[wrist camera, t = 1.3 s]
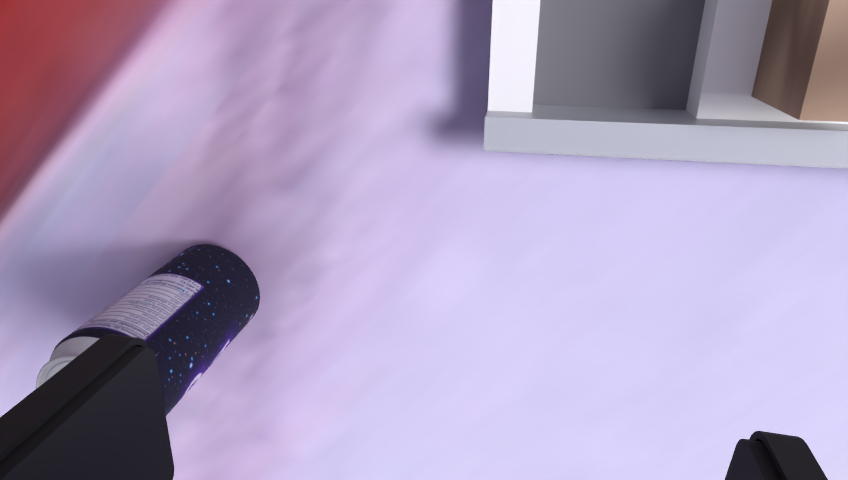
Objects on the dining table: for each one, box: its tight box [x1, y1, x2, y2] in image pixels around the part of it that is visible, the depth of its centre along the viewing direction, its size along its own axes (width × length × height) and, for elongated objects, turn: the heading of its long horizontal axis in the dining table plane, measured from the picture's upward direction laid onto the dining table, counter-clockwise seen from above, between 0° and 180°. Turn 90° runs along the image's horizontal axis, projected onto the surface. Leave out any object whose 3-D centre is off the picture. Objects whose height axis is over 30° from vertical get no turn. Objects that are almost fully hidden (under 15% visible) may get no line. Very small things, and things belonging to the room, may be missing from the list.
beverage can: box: [36, 245, 260, 415], centre depth 31 cm, size 6×6×12 cm
